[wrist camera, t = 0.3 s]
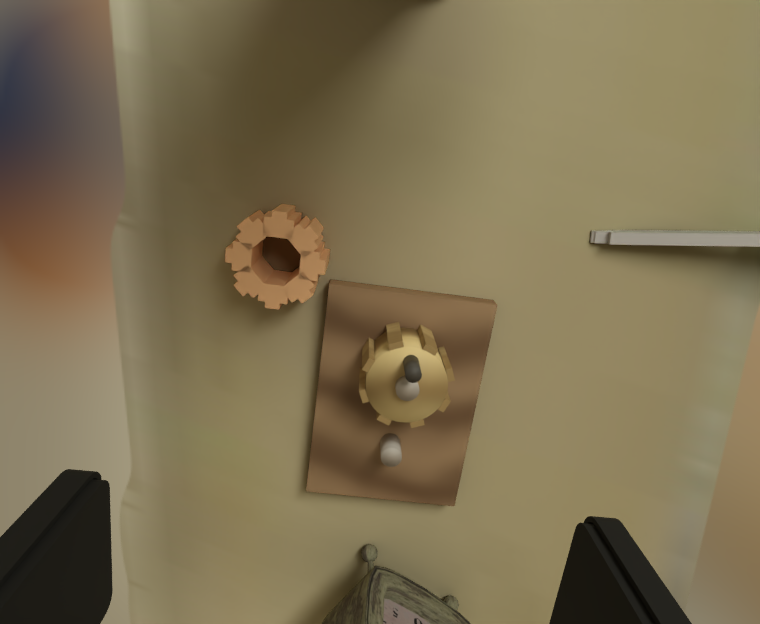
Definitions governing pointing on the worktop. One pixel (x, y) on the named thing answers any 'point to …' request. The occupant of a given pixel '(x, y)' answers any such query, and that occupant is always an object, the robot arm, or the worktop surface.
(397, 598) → the tabletop clock
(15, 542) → the robot arm
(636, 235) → the caliper
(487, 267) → the worktop surface
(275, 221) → the terracotta gear
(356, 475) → the gear board
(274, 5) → the worktop surface
